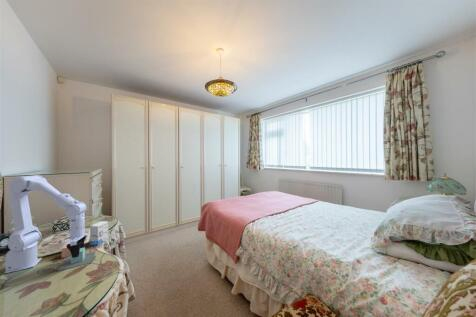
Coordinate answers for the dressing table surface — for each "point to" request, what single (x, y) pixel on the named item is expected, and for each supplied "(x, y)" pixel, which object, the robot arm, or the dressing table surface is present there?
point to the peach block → (65, 251)
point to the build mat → (86, 260)
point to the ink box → (98, 232)
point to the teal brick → (80, 257)
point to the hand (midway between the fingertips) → (77, 253)
